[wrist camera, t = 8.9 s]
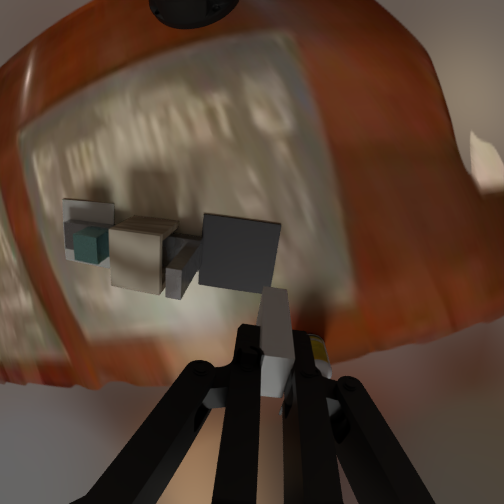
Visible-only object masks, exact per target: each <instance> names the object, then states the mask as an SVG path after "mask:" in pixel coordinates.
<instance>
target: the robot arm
mask: <svg viewBox="0 0 504 504" xmlns="http://www.w3.org/2000/svg"><path fill="white" fill-rule="evenodd" d="M238 1H239V0H149V6H150V9H151V11H152V13H153V14H154V15H155V17H156V18H157V19H158V20H159V21H160V22H161V23H163V24H165V25H166V26H169V27H172V28H177V29H194V28H199V27H203V26H207V25H210V24H212V23H214V22H216V21H218V20H220V19H222V18H223V17H225V16H226V15H227V14H229V13H230V12H231V11H232V10H233V9H234V8H235V6H236V5H237V3H238ZM283 393H284V397H285V398H284V401H283V404H282V406H281V409H280V412H279V415H281V414H282V418H283V462H284V504H344V503H343V499H342V492H341V485H340V477H339V472H338V471H339V470H338V464H337V457H338V460H339V462H340V464H341V466H342V468H343V471H344V473H345V475H346V477H347V479H348V481H349V484H350V486H351V488H352V490H353V492H354V495H355V497H356V499H357V501H358V503H359V504H435V502H434V500H433V498H432V497H431V495H430V493H429V492H428V490H427V488H426V487H425V485H424V483H423V482H422V480H421V478H420V476H419V475H418V473H417V471H416V470H415V468H414V467H413V465H412V463H411V462H410V460H409V458H408V457H407V455H406V453H405V452H404V450H403V449H402V447H401V445H400V444H399V442H398V440H397V439H396V437H395V436H394V434H393V432H392V431H391V429H390V427H389V426H388V424H387V423H386V421H385V419H384V418H383V416H382V415H381V413H380V411H379V410H378V408H377V407H376V405H375V404H374V402H373V401H372V399H371V397H370V396H369V394H368V392H367V391H366V389H365V388H364V386H363V385H362V383H361V382H360V381H359V380H358V379H356V378H354V377H351V376H343V377H340V378H339V379H338V381H335V380H331V379H328V378H326V377H324V376H322V374H321V371H320V370H319V369H318V368H317V367H316V365H315V360H314V355H313V350H312V345H311V339H310V337H309V335H308V334H307V333H306V331H298V330H292V327H291V318H290V310H289V302H288V294H287V290H286V289H279V288H273V287H266V286H263V291H262V296H261V302H260V307H259V312H258V317H257V323H256V325H249V324H242V325H241V326H240V327H239V328H238V331H237V337H236V344H235V350H234V357H233V360H232V362H231V363H230V364H228V365H226V366H223V367H214V366H213V365H212V364H211V363H209V362H207V361H203V360H195V361H192V362H190V363H189V364H188V365H187V366H186V367H185V368H184V370H183V371H182V372H181V374H180V375H179V376H178V378H177V379H176V380H175V382H174V383H173V384H172V386H171V387H170V388H169V390H168V391H167V392H166V393H165V395H164V396H163V397H162V399H161V400H160V401H159V403H158V404H157V405H156V407H155V408H154V409H153V410H152V412H151V413H150V414H149V416H148V417H147V418H146V420H145V421H144V422H143V424H142V425H141V426H140V427H139V429H138V430H137V431H136V433H135V434H134V435H133V436H132V438H131V439H130V440H129V441H128V443H127V444H126V445H125V447H124V448H123V449H122V450H121V452H120V453H119V454H118V456H117V457H116V458H115V459H114V461H113V462H112V463H111V464H110V466H109V467H108V468H107V469H106V471H105V472H104V473H103V474H102V476H101V477H100V478H99V479H98V481H97V482H96V483H95V485H94V486H93V487H92V488H91V489H90V491H89V492H88V493H87V494H86V495H85V496H83V497H82V498H79V499H77V500H75V501H73V502H71V503H69V504H156V503H157V501H158V499H159V498H160V496H161V495H162V493H163V491H164V490H165V488H166V487H167V485H168V483H169V482H170V480H171V478H172V477H173V475H174V473H175V472H176V470H177V468H178V467H179V465H180V463H181V462H182V460H183V458H184V457H185V455H186V453H187V452H188V450H189V448H190V447H191V445H192V443H193V441H194V440H195V438H196V436H197V434H198V433H199V431H200V429H201V427H202V426H203V424H204V422H205V420H206V419H207V417H208V415H209V413H210V411H211V409H212V408H221V407H226V409H225V415H224V422H223V428H222V429H223V430H222V435H221V442H220V449H219V456H218V462H217V469H216V476H215V483H214V490H213V496H212V503H211V504H256V493H257V474H258V450H259V424H260V422H259V421H260V396H268V397H278V398H282V396H283ZM336 455H337V457H336Z"/></svg>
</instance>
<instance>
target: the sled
mask: <svg viewBox="0 0 504 504" xmlns="http://www.w3.org/2000/svg"><path fill="white" fill-rule="evenodd" d="M113 226H115V225H111V224H104V223H96V222H88V221H81V220H73V219H70V220H68V221H65V222H64V235H65V248H66V249H71V250H74V257H75V260H77V261H82V262H86V263H91V264H96V265H98V264H100V263H101V262H102V261H104V260H105V259H106V258H108V257H110V256H109V229H110V228H112V227H113ZM202 248H203V237H200V236H193V235H186V234H178V233H171V234H170V235H169V236H168V237H167V238H165V239H164V240H163V241H162V266H166V297H167V298H173V299H178V300H181V299H182V297H183V295H184V293H185V291H186V290H187V288H188V286H189V284H190V282H191V281H192V279H193V277H194V275H195V274H196V272H197V271H199V269H200V267H201V261H202Z"/></svg>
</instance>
